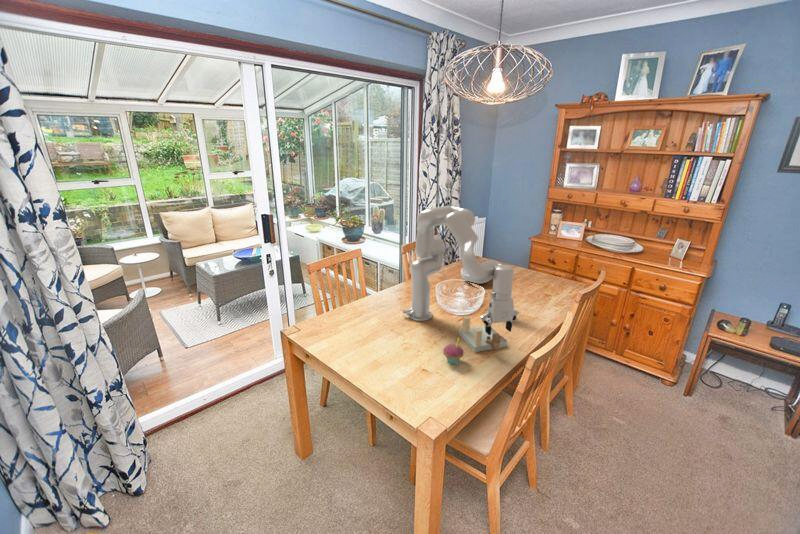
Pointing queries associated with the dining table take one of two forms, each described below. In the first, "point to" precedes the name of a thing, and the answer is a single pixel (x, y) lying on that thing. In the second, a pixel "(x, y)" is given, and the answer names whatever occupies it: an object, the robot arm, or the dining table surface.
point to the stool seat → (478, 336)
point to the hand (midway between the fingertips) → (498, 331)
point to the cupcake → (453, 353)
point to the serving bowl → (468, 278)
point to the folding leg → (494, 341)
